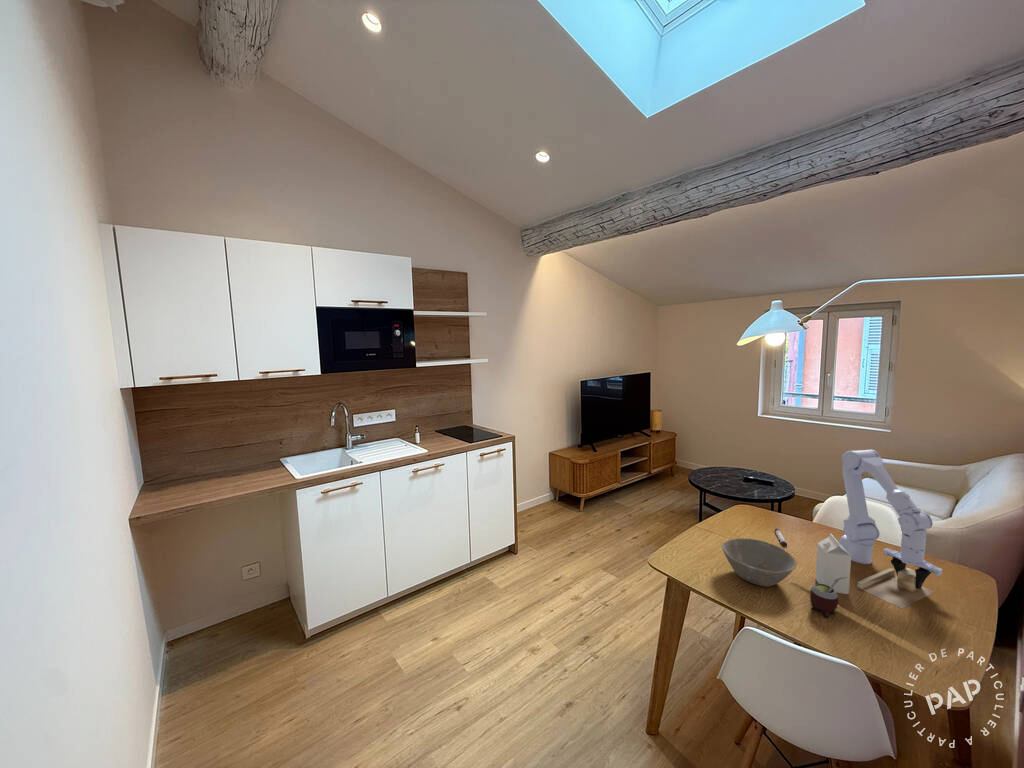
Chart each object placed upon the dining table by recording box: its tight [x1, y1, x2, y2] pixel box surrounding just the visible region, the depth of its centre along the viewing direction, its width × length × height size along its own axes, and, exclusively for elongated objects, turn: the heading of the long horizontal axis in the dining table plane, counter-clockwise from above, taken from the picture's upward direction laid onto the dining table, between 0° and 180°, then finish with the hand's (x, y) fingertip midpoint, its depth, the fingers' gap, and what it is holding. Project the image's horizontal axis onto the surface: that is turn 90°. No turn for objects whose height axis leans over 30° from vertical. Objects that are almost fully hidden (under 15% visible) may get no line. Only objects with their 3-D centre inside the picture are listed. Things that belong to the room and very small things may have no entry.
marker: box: [774, 527, 788, 548], centre depth 174 cm, size 15×2×2 cm, turn 158°
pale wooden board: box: [856, 567, 935, 610], centre depth 135 cm, size 12×20×4 cm, turn 112°
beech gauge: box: [897, 567, 923, 592], centre depth 136 cm, size 4×6×5 cm, turn 112°
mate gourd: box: [809, 577, 847, 619], centre depth 127 cm, size 8×8×15 cm
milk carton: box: [815, 533, 852, 595], centre depth 137 cm, size 7×7×19 cm
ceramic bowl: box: [721, 537, 797, 588], centre depth 145 cm, size 22×23×10 cm
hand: (909, 584), depth 136 cm, fingers closed on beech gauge, 4 cm apart
